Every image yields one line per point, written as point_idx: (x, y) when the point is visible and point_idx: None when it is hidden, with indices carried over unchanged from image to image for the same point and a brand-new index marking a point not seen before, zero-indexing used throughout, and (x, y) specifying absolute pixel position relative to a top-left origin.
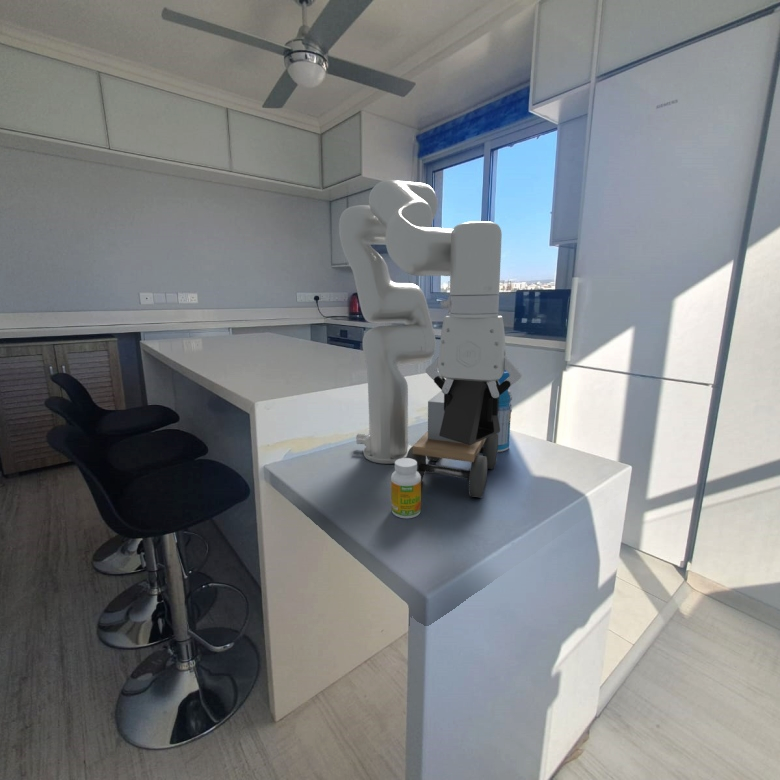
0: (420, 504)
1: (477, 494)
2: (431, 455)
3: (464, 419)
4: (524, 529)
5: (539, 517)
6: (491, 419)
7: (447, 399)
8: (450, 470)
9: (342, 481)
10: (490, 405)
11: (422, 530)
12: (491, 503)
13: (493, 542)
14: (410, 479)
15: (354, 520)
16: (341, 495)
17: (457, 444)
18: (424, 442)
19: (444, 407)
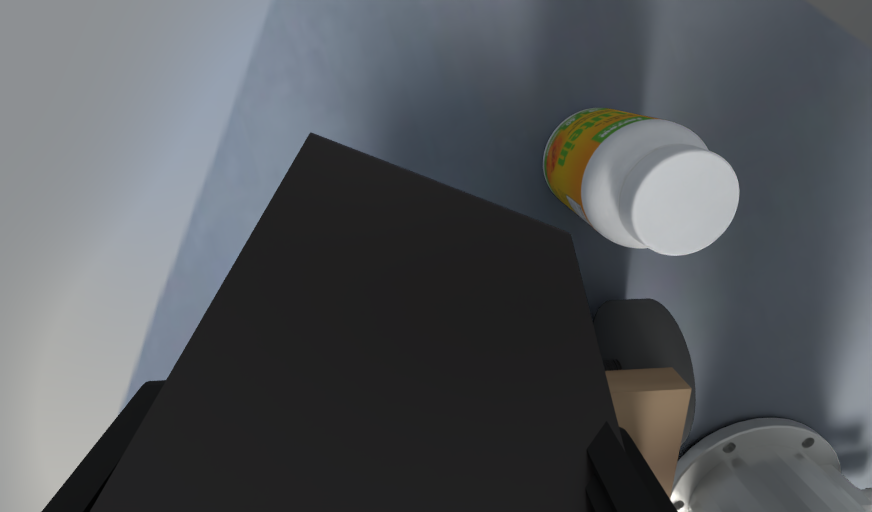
0: (550, 171)
1: None
2: None
3: (367, 272)
4: (204, 203)
5: (181, 290)
6: (141, 392)
7: (637, 486)
8: None
9: (854, 260)
10: (70, 500)
11: (506, 65)
12: None
13: (271, 89)
14: (624, 145)
15: (745, 32)
16: (833, 171)
17: None
18: (647, 443)
19: (627, 440)
